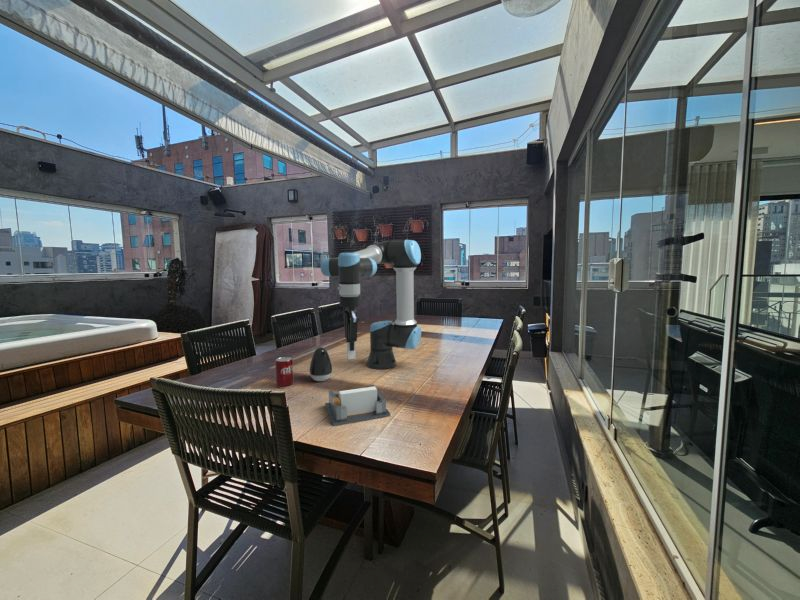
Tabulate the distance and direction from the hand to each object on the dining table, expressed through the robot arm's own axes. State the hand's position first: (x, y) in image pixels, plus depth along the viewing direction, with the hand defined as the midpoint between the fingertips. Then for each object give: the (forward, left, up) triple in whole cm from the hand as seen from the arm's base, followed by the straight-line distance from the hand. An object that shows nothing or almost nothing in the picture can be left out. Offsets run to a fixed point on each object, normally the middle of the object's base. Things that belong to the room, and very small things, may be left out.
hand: (351, 358), depth 125 cm
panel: (0, +9, -17) cm, 19 cm away
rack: (-1, +5, -18) cm, 19 cm away
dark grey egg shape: (+6, -33, -19) cm, 38 cm away
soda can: (+22, -31, -19) cm, 43 cm away
